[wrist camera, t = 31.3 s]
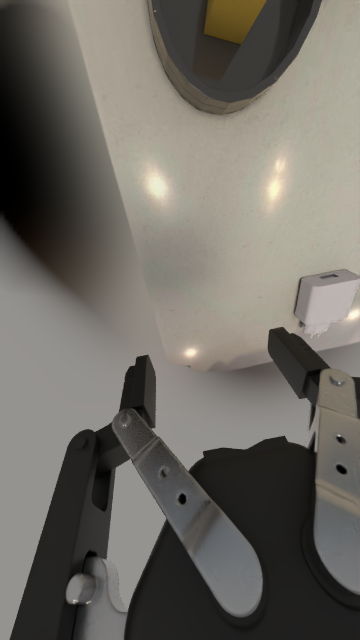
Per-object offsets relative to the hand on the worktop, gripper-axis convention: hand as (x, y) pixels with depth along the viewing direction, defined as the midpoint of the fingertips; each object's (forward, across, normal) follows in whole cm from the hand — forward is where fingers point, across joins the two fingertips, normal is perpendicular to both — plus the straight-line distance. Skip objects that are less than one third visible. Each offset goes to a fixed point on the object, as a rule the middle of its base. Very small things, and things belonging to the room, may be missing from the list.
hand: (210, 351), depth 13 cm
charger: (+26, +28, -18) cm, 42 cm away
